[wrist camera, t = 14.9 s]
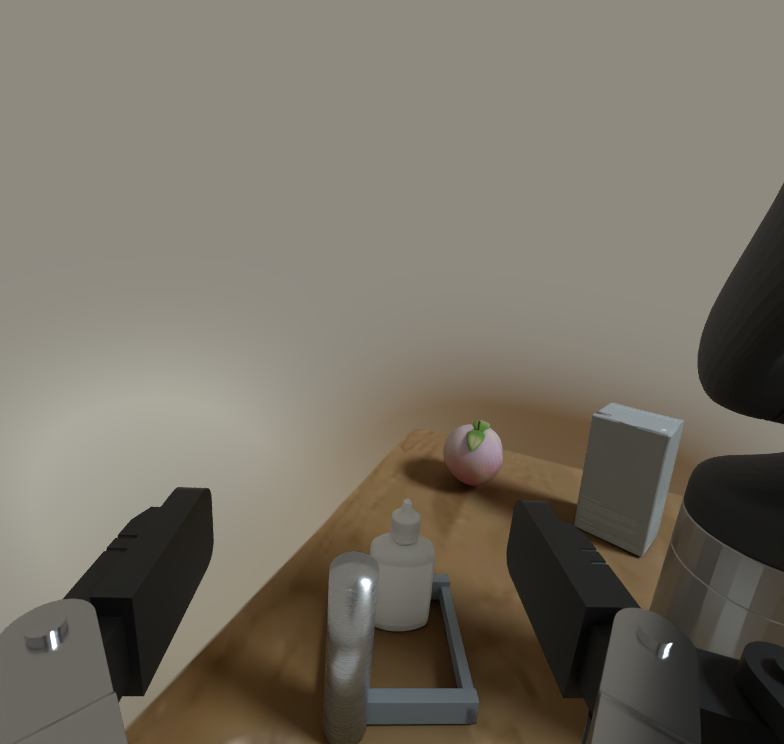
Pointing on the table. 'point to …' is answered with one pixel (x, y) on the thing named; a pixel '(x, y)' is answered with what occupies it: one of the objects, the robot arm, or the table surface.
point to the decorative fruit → (473, 453)
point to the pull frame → (354, 659)
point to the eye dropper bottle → (403, 572)
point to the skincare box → (627, 475)
